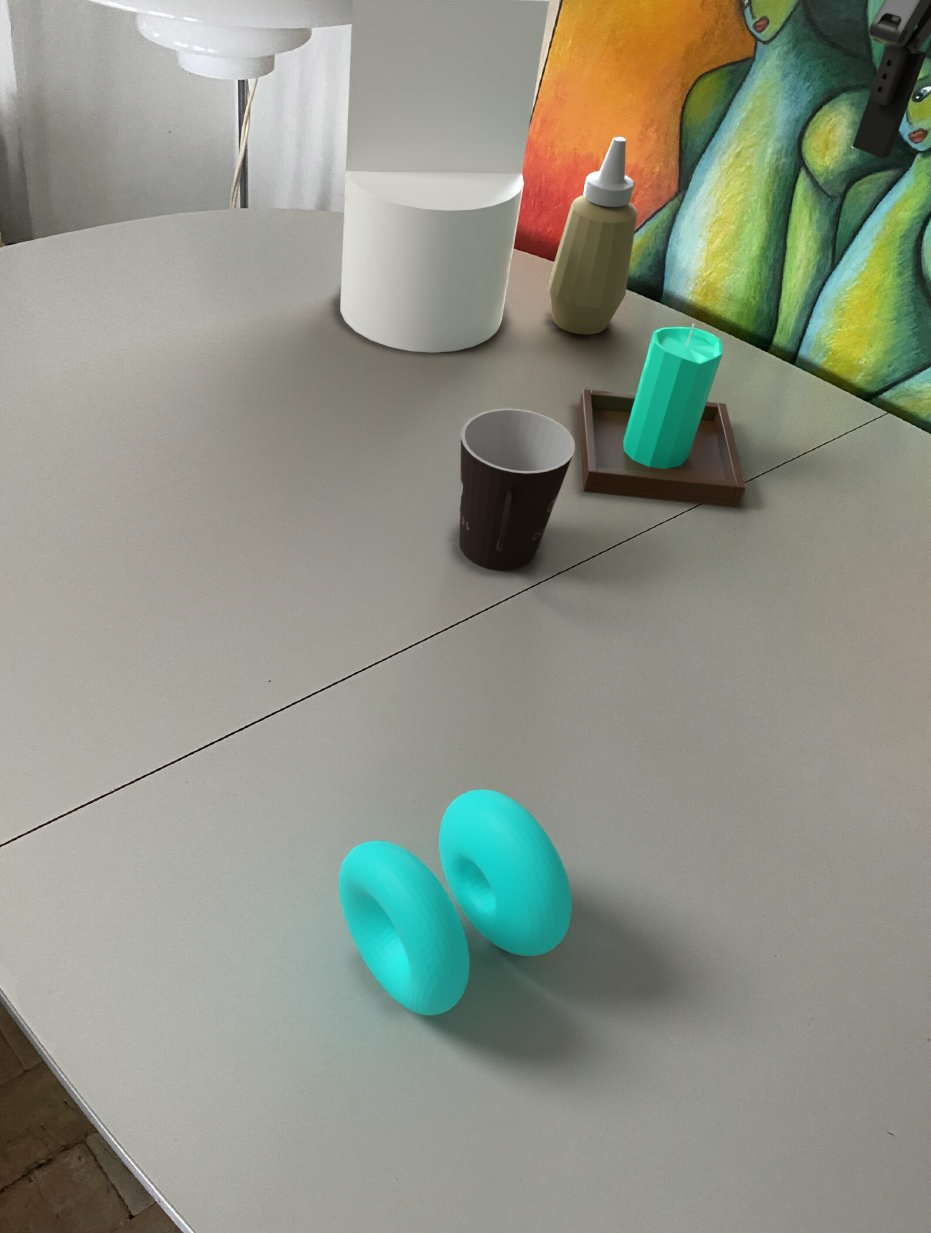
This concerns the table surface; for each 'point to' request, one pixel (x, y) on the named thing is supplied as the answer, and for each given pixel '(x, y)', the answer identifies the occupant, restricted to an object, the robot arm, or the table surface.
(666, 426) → the candle
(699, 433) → the walnut tray
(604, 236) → the squeeze bottle
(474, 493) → the coffee mug
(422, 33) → the cylinder
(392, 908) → the donuts
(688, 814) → the table surface
